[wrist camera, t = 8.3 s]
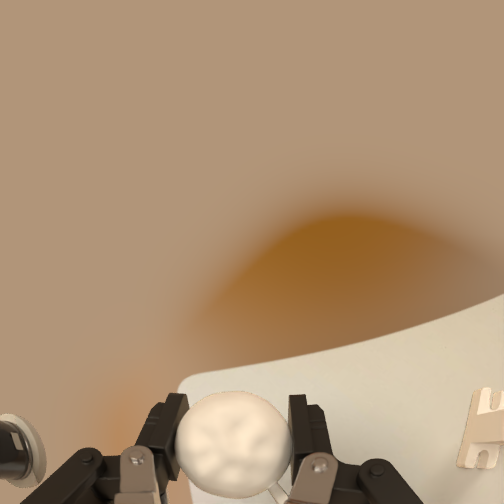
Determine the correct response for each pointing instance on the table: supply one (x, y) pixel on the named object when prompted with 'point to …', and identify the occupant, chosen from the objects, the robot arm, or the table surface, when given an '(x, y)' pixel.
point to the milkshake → (234, 446)
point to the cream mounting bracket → (483, 430)
